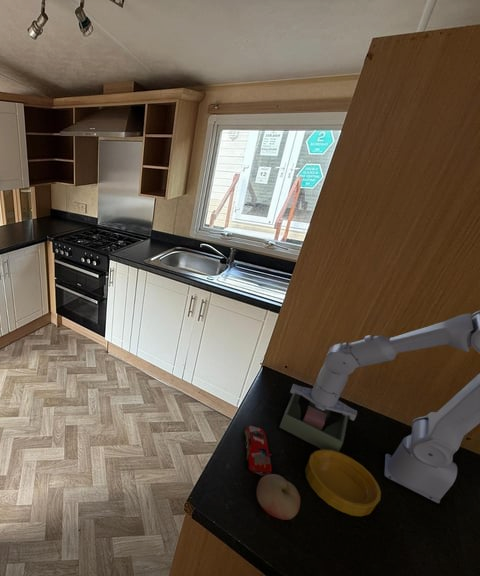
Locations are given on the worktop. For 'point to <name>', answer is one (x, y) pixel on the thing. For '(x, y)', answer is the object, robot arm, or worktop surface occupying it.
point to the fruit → (278, 497)
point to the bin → (321, 439)
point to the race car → (257, 451)
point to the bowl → (342, 482)
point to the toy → (314, 418)
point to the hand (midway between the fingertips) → (312, 422)
